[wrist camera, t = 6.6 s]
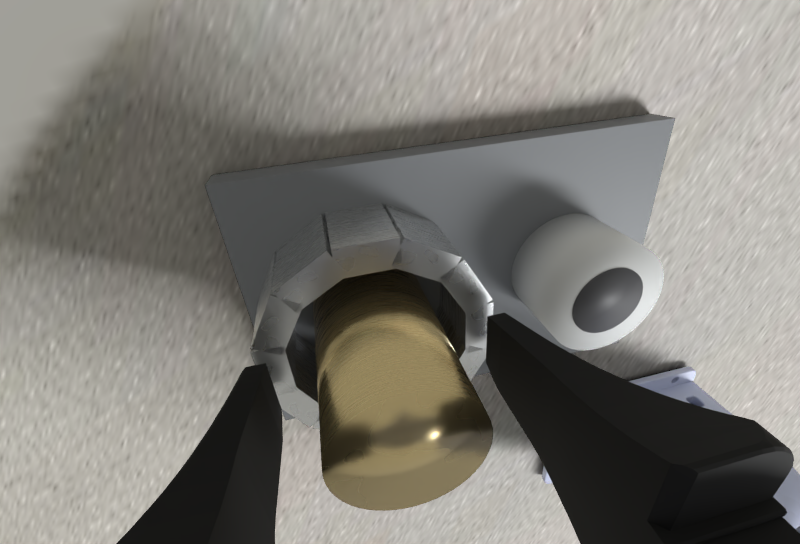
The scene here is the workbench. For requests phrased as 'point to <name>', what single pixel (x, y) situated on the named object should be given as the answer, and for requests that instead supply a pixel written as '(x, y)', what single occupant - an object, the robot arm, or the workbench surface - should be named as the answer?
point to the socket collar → (352, 256)
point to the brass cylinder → (392, 396)
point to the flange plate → (487, 219)
